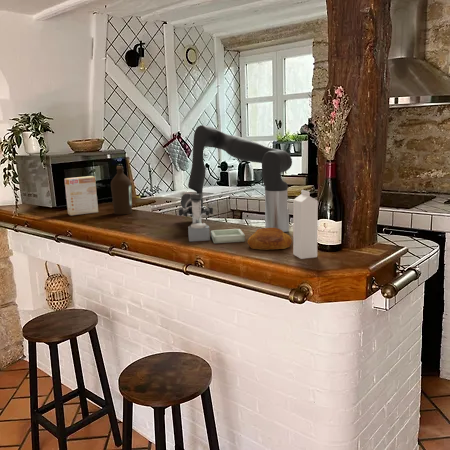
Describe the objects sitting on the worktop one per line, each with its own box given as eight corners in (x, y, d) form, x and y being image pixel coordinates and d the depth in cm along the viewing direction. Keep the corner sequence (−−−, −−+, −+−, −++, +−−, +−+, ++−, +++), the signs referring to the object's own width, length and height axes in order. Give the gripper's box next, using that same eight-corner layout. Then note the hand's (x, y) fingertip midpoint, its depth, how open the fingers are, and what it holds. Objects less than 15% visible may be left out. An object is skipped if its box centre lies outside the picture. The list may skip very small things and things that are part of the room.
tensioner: (206, 232, 195) (206, 218, 194) (209, 240, 181) (209, 225, 180) (187, 234, 194) (186, 219, 193) (189, 241, 180) (188, 226, 179)
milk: (300, 259, 152) (300, 192, 148) (293, 254, 158) (292, 190, 153) (317, 257, 154) (318, 191, 149) (309, 252, 160) (309, 188, 155)
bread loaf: (289, 257, 162) (292, 235, 160) (245, 250, 165) (247, 229, 163) (291, 246, 176) (294, 225, 174) (250, 240, 179) (252, 219, 177)
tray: (239, 234, 190) (239, 228, 189) (245, 241, 178) (244, 235, 178) (210, 236, 188) (210, 230, 188) (213, 243, 177) (213, 236, 176)
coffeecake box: (95, 210, 259) (91, 175, 255) (98, 212, 253) (95, 176, 249) (67, 213, 252) (63, 177, 248) (70, 215, 246) (66, 178, 242)
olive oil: (112, 215, 242) (109, 167, 237) (113, 212, 252) (109, 165, 247) (133, 214, 244) (130, 166, 239) (133, 210, 255) (129, 165, 250)
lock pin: (202, 233, 194) (201, 193, 190) (203, 236, 189) (202, 194, 186) (191, 234, 193) (189, 193, 190) (192, 236, 189) (190, 195, 185)
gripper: (177, 199, 203) (178, 205, 187) (210, 198, 205) (213, 203, 189) (178, 216, 205) (179, 223, 189) (210, 214, 206) (214, 221, 191)
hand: (196, 213), depth 189 cm, fingers open, 8 cm apart
